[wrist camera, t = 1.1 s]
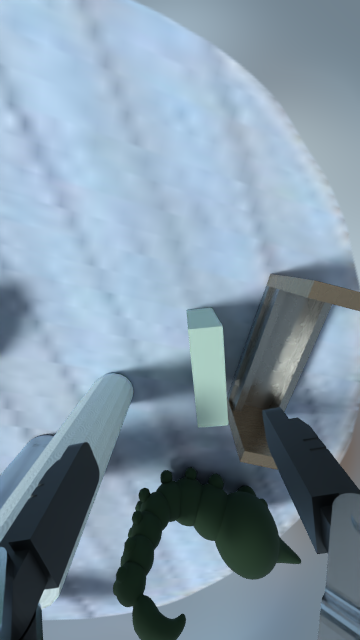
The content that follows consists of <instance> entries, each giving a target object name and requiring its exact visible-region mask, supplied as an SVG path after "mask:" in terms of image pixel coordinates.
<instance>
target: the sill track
mask: <svg viewBox="0 0 360 640" xmlns="http://www.w3.org/2000/svg"><path fill="white" fill-rule="evenodd" d="M332 304H334V305H338V306H342V307H346V308H350V309H354V310H358V311H360V292H357V291H353V290H349V289H346V288H342V287H338V286H334V285H330V284H326V283H323V282H319V281H315V280H308V279H302V278H295V277H288V276H282V275H275V274H270V277H269V280H268V283H267V286H266V289H265V291H264V294H263V297H262V300H261V303H260V305H259V308H258V311H257V314H256V317H255V320H254V322H253V325H252V328H251V331H250V334H249V337H248V339H247V342H246V345H245V348H244V351H243V353H242V356H241V359H240V362H239V365H238V368H237V370H236V373H235V376H234V379H233V382H232V384H231V387H230V390H229V393H228V396H227V411H228V421H229V424H230V428H231V431H232V435H233V438H234V442H235V446H236V449H237V453H238V456H239V460H240V462H244V463H248V464H253V465H258V466H262V467H267V468H272V469H277V470H278V468H277V466H276V464H275V462H274V460H273V457H272V455H271V453H270V450H269V447H268V444H267V440H266V434H265V428H264V421H263V415H262V410H266V409H271V408H277V407H280V408H282V410H283V411H285V409H286V407H287V405H288V402H289V400H290V398H291V396H292V393H293V391H294V389H295V387H296V384H297V382H298V380H299V378H300V376H301V373H302V371H303V369H304V367H305V364H306V362H307V360H308V358H309V355H310V353H311V351H312V349H313V346H314V344H315V342H316V340H317V337H318V335H319V333H320V331H321V329H322V326H323V324H324V322H325V320H326V317H327V315H328V313H329V311H330V308H331V306H332Z"/></svg>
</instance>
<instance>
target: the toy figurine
mask: <svg viewBox="0 0 360 640" xmlns="http://www.w3.org/2000/svg"><path fill="white" fill-rule="evenodd" d="M196 477H197V473H196V471H195V469H194V468H192V467H190V468H187V469H186V472H185V477H184V478H181V479H179V480H178V481H177V482H176V481H172V473H171V472H170V471H169V470H164V471H163V472H162V473H161V477H160V478H161V483H162V484H161V485H160V487H159V488H158V489H157V491H156V492H153V493H151V494H150V492H149V489H147V488H143V489H141V490H140V492H139V499H140V501H138V503H137V505H136V507H135V509H136V512H134V514H133V516H132V521H133V526H132V527H131V528H130V530H129V533H128V537H129V538H128V539H127V541H126V542H125V547H124V552H123V556H122V557H121V567H119V569H118V571H117V573H116V581H115V583H114V585H113V592H114V595H116V596H117V599H118V601H119V602H120V604H121V605H123V606H125V607H131V606H133V613H132V614H133V615H132V616H133V625H134V630H135V632H136V633H137V635H138V636H139V638H140V639H141V640H176V639H177V638H178V637H179V635H180V634H181V632H182V631H183V629H184V626H185V622H186V618H185V615H184V614H181V615H180V616H178V617H177V618H175V619H169V618H167V617H165V616H164V615H162V614H161V613H160V612H159V610H158V608H157V607H156V605H155V604H154V602H153V601H152V600H151V598H149V597H148V596H144V595H143V592H144V590H145V585H146V575H147V574H148V573H149V571H150V569H151V568H152V565H153V561H154V550H155V548H156V547H157V546H158V544H159V542H160V540H161V535H162V530H164V529H165V527H166V526H167V524H168V522H172V521H175V520H176V521H177V522H179V523H180V524H182V525H185V526H194V528H195V529H196V531H197V532H198V533H199V534H200V535H201V536H202V537H204V538H205V539H207V540H211V541H215V543H216V546H217V549H218V551H219V553H220V555H221V557H222V559H223V560H224V562H225V563H226V564H227V566H228V567H229V568H230V569H231V570H233V571H234V572H235V573H237V574H238V575H240V576H242V577H244V578H246V579H259V578H263V577H264V576H266V575H267V574H269V573H270V572H271V570H272V569H273V568H274V566H275V564H276V563H290V564H300V563H301V559H300V558H299V557H298V556H297V554H296V553H295V552H294V551H293V550H292V549H291V548H290V547H289V546H287V544H286V543H284V541H282V540H281V538H280V537H279V535H278V530H277V527H276V524H275V521H274V519H273V517H272V515H271V513H270V511H269V509H268V505H267V503H266V501H265V500H264V499H259V498H257V497H256V495H255V493H254V491H253V490H252V488H250V487H248V486H243V487H241V488H239V489H238V491H237V492H233V493H230V494H228V495H227V494H226V492H225V491H224V490H223V486H224V483H223V480H222V477H221V476H220V475H218V474H212V475H211V476H210V477H209V480H208V484H204V485H202V484H201V483H200V482H199V481H197V480H196Z"/></svg>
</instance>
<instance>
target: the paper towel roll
mask: <svg viewBox="0 0 360 640" xmlns="http://www.w3.org/2000/svg"><path fill="white" fill-rule="evenodd" d="M133 392H134V391H133V387H132V384H131V382H130V381H129V380H128V379H127V378H126V377H124V376H122V375H121V374H115V373H111V374H106V375H104V376H103V377H101V378H100V379H98V380H97V381H96V382H94V384H93V385H92V386H91V388H90V389H89V390H88V392H87V393H86V395H84V396H83V397H82V399H81V400H80V402H79V403H78V404H77V406H76V407H75V408H74V410H73V411H72V412H71V414H70V415H69V417H68V418H67V419H66V421H65V422H64V423H63V425H62V426H61V427H60V429H59V430H58V431H57V433H56V434H55V436H54V437H53V438H52V440H51V441H50V442H49V444H48V445H47V446H46V448H45V449H44V451H43V452H42V453H41V455H40V456H39V457H38V459H37V460H36V461H35V463H34V464H33V465H32V467H31V468H30V470H29V471H28V472H27V474H26V475H25V476H24V478H23V479H22V480H21V482H20V483H19V485H18V486H17V487H16V489H15V490H14V491H13V493H12V494H11V495H10V497H9V498H8V499H7V501H6V502H5V504H4V505H3V506H2V508H1V509H0V542H1V540H2V539H3V537H4V536H5V534H6V533H7V531H8V530H9V528H10V527H11V525H12V523H13V522H14V520H15V519H16V517H17V516H18V514H19V513H20V511H21V510H22V508H23V507H24V505H25V503H26V502H27V500H28V499H29V498H30V497H31V494H32V493H33V491H34V490H35V488H36V487H38V483H39V482H40V480H41V479H42V477H43V476H44V474H45V473H46V471H47V470H48V469H49V468H50V467H51V466H52V465H53V464H54V463H55V462H56V461H57V460H60V458H61V457H62V455H63V453H64V452H65V450H66V449H67V447H68V446H69V445H73V444H78V443H83V442H88V443H89V445H90V447H91V449H92V452H93V454H94V457H95V459H96V461H97V464H98V466H99V471H100V476H99V482H98V485H97V488H96V490H95V493H94V496H93V498H92V501H91V504H90V506H89V509H88V511H87V514H86V517H85V519H84V522H83V525H82V527H81V530H80V532H79V535H78V538H77V540H76V543H75V546H74V548H73V551H72V553H71V556H70V559H69V561H68V564H67V567H66V569H65V572H64V574H63V577H62V580H61V582H60V585H59V588H53V589H46V590H44V591H43V594H42V596H41V598H40V601H39V603H40V605H41V609H44V608H46V607H48V606H51V605H52V603H53V602H54V601H55V600H56V599H57V598H58V597H59V595H60V593H61V590H62V587H63V584H64V582H65V579H66V576H67V574H68V571H69V568H70V566H71V563H72V560H73V557H74V555H75V552H76V549H77V547H78V544H79V541H80V538H81V536H82V533H83V530H84V528H85V525H86V522H87V519H88V517H89V514H90V511H91V509H92V506H93V503H94V501H95V498H96V495H97V492H98V490H99V487H100V484H101V482H102V479H103V476H104V473H105V471H106V468H107V465H108V463H109V460H110V457H111V454H112V452H113V449H114V446H115V444H116V441H117V438H118V436H119V433H120V430H121V427H122V425H123V422H124V419H125V417H126V414H127V411H128V408H129V406H130V403H131V400H132V398H133Z"/></svg>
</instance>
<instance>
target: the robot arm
mask: <svg viewBox="0 0 360 640" xmlns="http://www.w3.org/2000/svg"><path fill="white" fill-rule="evenodd" d="M262 415H263V421H264V428H265V434H266V440H267V444H268V447H269V450H270V453H271V455H272V457H273V460H274V462H275V464H276V466H277V468H278V470H279V473H280V475H281V477H282V479H283V481H284V483H285V486H286V488H287V490H288V492H289V494H290V496H291V499H292V501H293V503H294V505H295V507H296V509H297V512H298V514H299V516H300V518H301V520H302V522H303V524H304V527H305V529H306V531H307V533H308V535H309V538H310V539H311V542H312V544H313V546H314V548H315V551H316V553H317V554H321V553H328V564H327V575H326V586H325V593H324V595H323V597H322V602H321V610H320V619H319V628H318V640H360V490H359V489H358V488H357V486H356V485H355V484H354V482H353V481H352V480H351V479H350V477H349V476H348V475H347V473H346V472H345V471H344V469H343V468H342V467H341V466H340V464H339V463H338V462H337V460H336V459H335V458H334V457H333V455H332V454H331V453H330V451H329V450H328V449H326V446H325V445H324V444H323V442H322V441H321V440H320V439H319V438H318V436H317V435H316V433H315V432H314V431H313V430H312V428H311V427H310V426H309V425H308V424H306V423H305V422H303V421H302V420H300V419H299V418H292V419H288V417H287V416H286V414H285V413H284V411H283V410H282V408H280V407H277V408H271V409H266V410H262ZM53 437H54V436H49V435H44V436H38V437H36V438H34V439H32V440H31V441H29V442H28V443H27V445H26V446H25V447H24V448H23V449H22V451H21V452H20V453H19V454H18V455H17V456H16V458H15V459H14V460H13V461H12V462H11V463H10V464H9V466H8V467H7V468H6V469H5V470H4V472H3V473H2V474H1V475H0V509H1V508H2V506H3V505H4V504H5V502H6V501H7V499H8V498H9V497H10V495H11V494H12V493H13V491H14V490H15V489H16V487H17V486H18V485H19V483H20V482H21V480H22V479H23V478H24V476H25V475H26V474H27V472H28V471H29V470H30V468H31V467H32V465H33V464H34V463H35V461H36V460H37V459H38V457H39V456H40V455H41V453H42V452H43V451H44V449H45V448H46V446H47V445H48V444H49V442H50V441H51V440H52V438H53ZM99 476H100V471H99V466H98V464H97V461H96V459H95V457H94V454H93V452H92V449H91V447H90V445H89V443H88V442H83V443H78V444H73V445H69V446H68V447H67V449H66V450H65V452H64V453H63V455H62V457H61V458H60V460H57V461H56V462H55V463H54V464H53V465H52V466H51V467H50V468H49V469H48V470H47V471H46V473H45V474H44V476H43V477H42V479H41V480H40V482H39V483H38V487H36V488H35V490H34V491H33V493H32V494H31V497H30V498H29V499H28V500H27V502H26V503H25V505H24V507H23V508H22V510H21V511H20V513H19V514H18V516H17V517H16V519H15V520H14V522H13V523H12V525H11V527H10V528H9V530H8V531H7V533H6V534H5V536H4V537H3V539H2V540H1V542H0V640H43V630H42V610H41V605H40V603H39V601H40V598H41V596H42V594H43V591H44V590H46V589H53V588H59V585H60V582H61V580H62V577H63V574H64V572H65V569H66V567H67V564H68V561H69V559H70V556H71V553H72V551H73V548H74V546H75V543H76V540H77V538H78V535H79V532H80V530H81V527H82V525H83V522H84V519H85V517H86V514H87V511H88V509H89V506H90V504H91V501H92V498H93V496H94V493H95V490H96V488H97V485H98V482H99Z"/></svg>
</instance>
